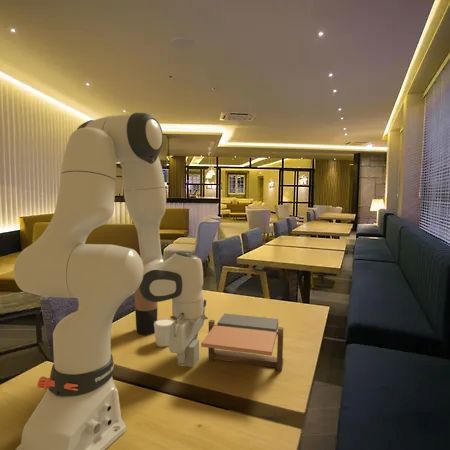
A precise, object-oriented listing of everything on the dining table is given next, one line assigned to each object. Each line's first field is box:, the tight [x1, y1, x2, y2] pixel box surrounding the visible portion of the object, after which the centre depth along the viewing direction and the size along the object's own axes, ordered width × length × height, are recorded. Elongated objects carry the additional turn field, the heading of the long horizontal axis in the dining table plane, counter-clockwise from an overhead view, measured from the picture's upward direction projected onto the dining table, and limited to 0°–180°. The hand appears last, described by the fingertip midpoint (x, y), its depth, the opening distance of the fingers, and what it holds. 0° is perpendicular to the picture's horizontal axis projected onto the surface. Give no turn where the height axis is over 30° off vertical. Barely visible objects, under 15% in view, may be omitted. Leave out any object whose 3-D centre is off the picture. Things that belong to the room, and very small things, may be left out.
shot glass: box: [154, 318, 175, 348], centre depth 114 cm, size 7×7×7 cm
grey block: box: [177, 339, 200, 368], centre depth 102 cm, size 5×5×6 cm
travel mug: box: [134, 288, 158, 336], centre depth 123 cm, size 8×8×20 cm
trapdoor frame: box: [207, 319, 284, 372], centre depth 102 cm, size 5×21×12 cm, turn 76°
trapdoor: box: [200, 313, 279, 357], centre depth 98 cm, size 22×18×2 cm
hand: (187, 353), depth 102 cm, fingers open, 8 cm apart
